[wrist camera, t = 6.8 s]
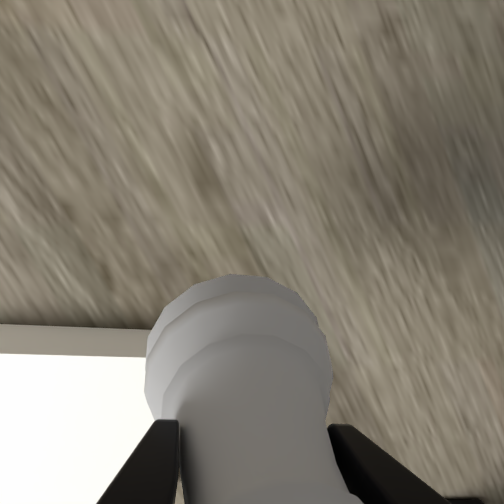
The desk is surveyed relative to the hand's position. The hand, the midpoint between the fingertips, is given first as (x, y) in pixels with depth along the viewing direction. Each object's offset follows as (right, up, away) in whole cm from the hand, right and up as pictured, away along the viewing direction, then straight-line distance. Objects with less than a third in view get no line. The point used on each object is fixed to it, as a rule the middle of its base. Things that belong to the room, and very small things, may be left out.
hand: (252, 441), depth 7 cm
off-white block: (-10, -5, +14) cm, 18 cm away
